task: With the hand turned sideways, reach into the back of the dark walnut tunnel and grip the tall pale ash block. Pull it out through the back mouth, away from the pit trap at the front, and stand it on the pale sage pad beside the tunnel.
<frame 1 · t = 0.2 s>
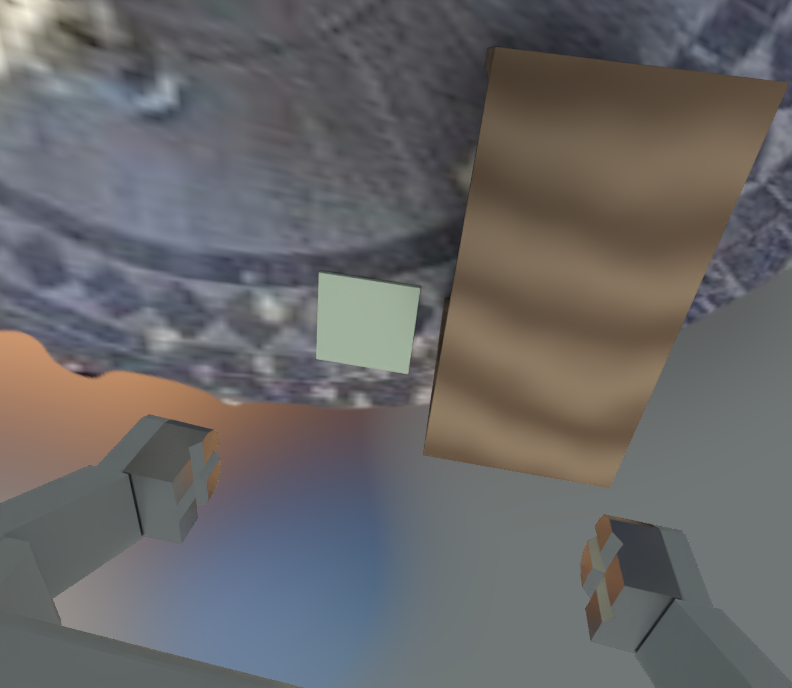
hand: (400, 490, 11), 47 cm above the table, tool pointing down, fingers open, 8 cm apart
walnut tunnel: (529, 204, 54), on the table
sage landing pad: (366, 323, 63), on the table
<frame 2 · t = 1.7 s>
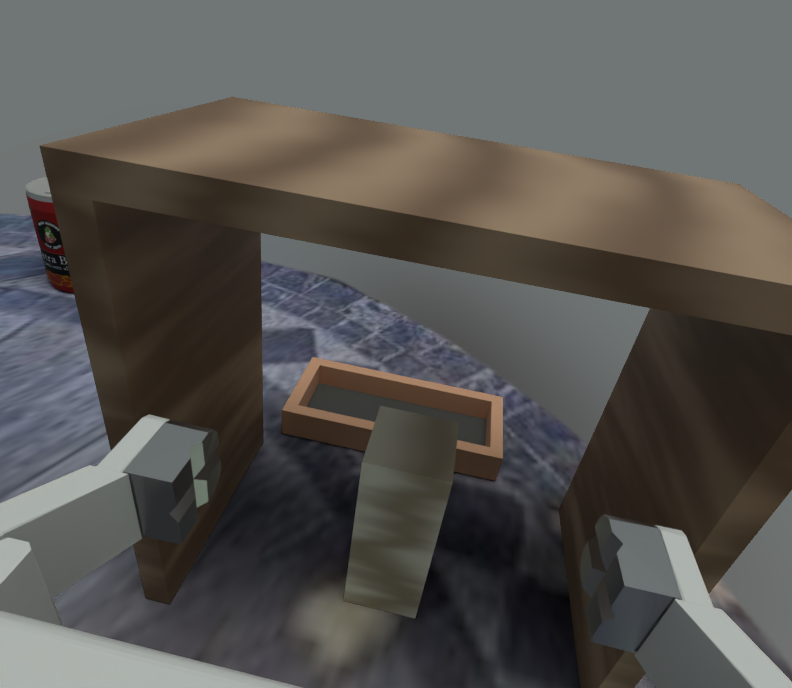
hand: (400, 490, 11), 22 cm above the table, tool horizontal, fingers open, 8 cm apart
canned food: (89, 280, 60), on the table
ash block: (386, 576, 33), on the table
walnut tunnel: (391, 550, 35), on the table
pit trap: (395, 425, 46), on the table
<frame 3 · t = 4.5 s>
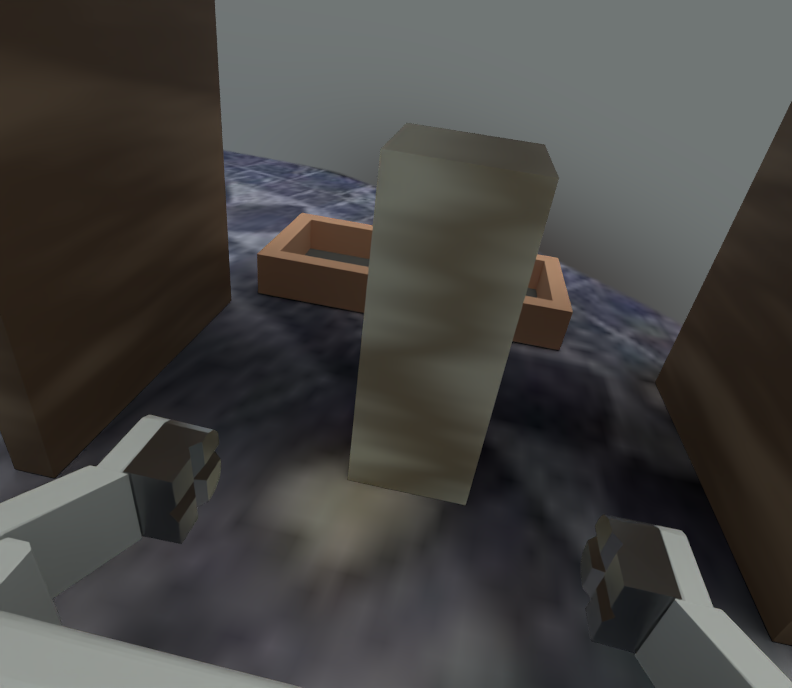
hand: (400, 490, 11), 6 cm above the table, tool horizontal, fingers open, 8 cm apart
ash block: (414, 451, 21), on the table
walnut tunnel: (420, 419, 23), on the table
pit trap: (414, 291, 33), on the table
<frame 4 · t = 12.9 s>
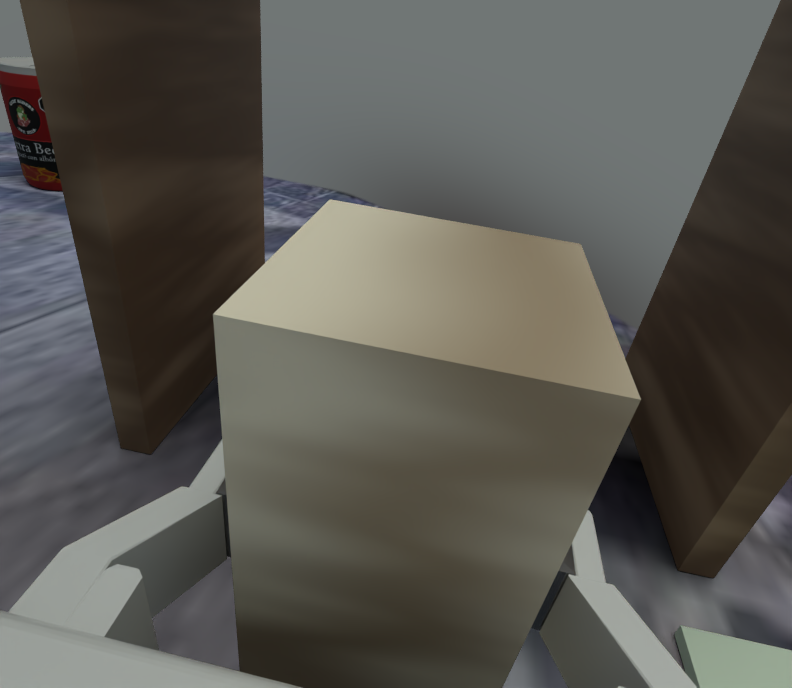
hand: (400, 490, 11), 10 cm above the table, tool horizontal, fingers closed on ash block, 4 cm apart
canned food: (70, 182, 54), on the table
ash block: (363, 686, 14), point 4 cm above the table, touching gripper
walnut tunnel: (422, 412, 29), on the table
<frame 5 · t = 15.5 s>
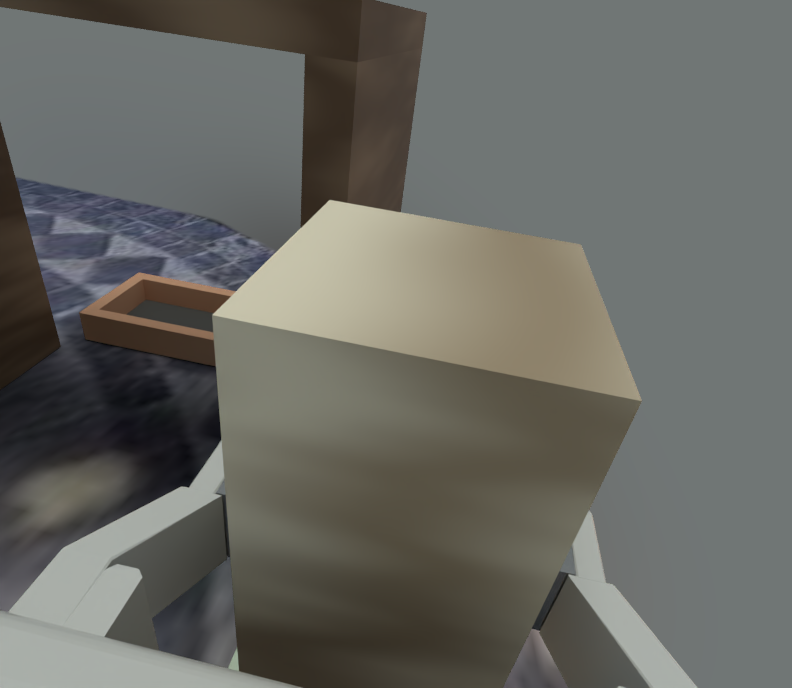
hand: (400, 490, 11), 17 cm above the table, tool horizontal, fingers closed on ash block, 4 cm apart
ash block: (363, 687, 14), point 10 cm above the table, touching gripper
walnut tunnel: (153, 436, 34), on the table
pit trap: (213, 336, 45), on the table
when the fingers open (9 cm above the table, at t = 18.1 s): ash block drops 1 cm, resting on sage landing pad.
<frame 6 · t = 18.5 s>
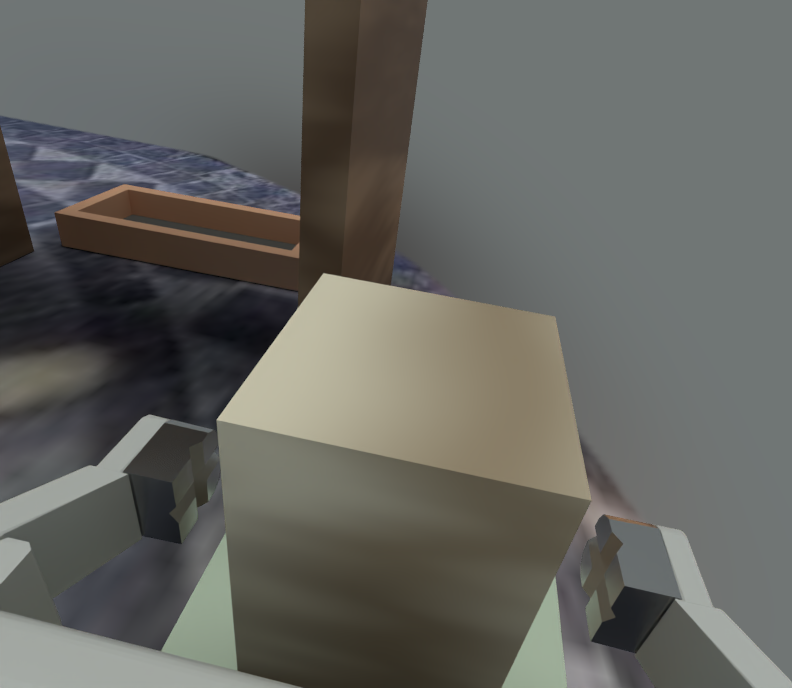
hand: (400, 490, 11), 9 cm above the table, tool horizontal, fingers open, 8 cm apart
walnut tunnel: (133, 331, 29), on the table
pit trap: (205, 248, 40), on the table
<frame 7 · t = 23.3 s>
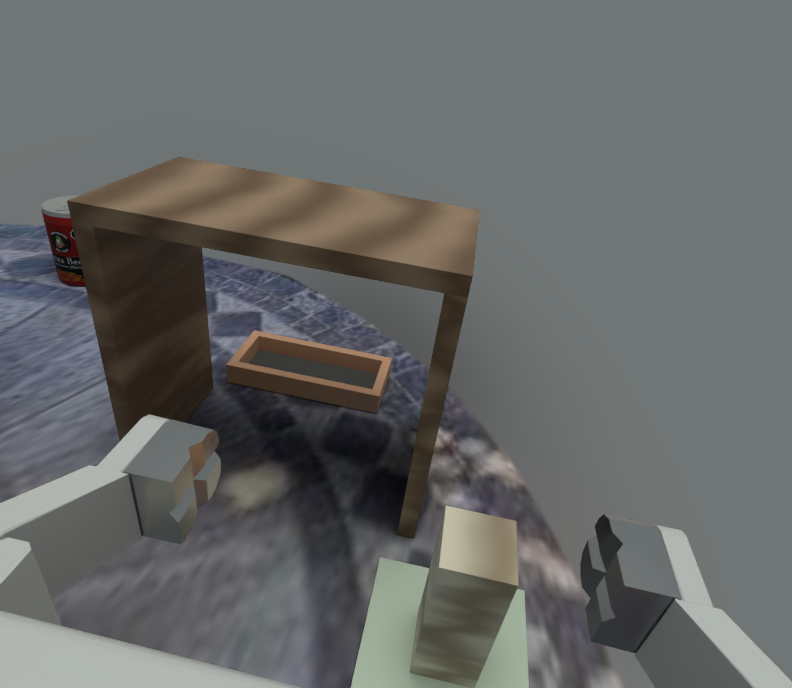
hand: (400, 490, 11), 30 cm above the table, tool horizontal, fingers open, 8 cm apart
canned food: (89, 276, 78), on the table
ash block: (444, 647, 37), point 1 cm above the table, touching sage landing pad
walnut tunnel: (293, 451, 52), on the table
pit trap: (311, 377, 63), on the table
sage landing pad: (443, 651, 37), on the table
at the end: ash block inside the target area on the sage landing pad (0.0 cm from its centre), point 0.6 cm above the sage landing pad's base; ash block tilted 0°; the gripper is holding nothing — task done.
